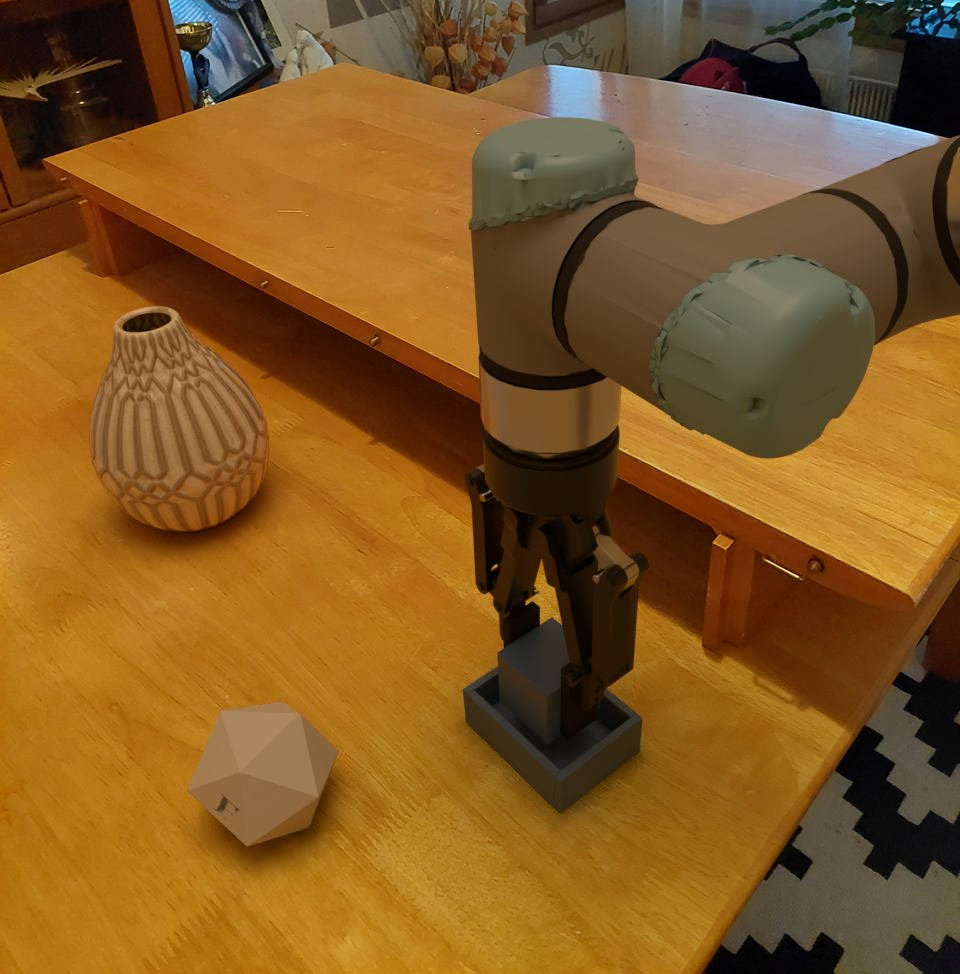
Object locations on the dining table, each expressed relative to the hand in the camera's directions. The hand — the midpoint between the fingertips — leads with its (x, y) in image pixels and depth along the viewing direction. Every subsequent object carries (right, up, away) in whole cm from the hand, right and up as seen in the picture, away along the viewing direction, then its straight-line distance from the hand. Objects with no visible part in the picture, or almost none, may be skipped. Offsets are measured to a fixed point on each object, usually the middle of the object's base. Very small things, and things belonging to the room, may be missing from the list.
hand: (549, 701), depth 65 cm
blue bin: (0, -3, +2) cm, 4 cm away
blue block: (0, 0, 0) cm, 0 cm away
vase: (-32, +13, +26) cm, 44 cm away
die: (-19, -7, -1) cm, 20 cm away
